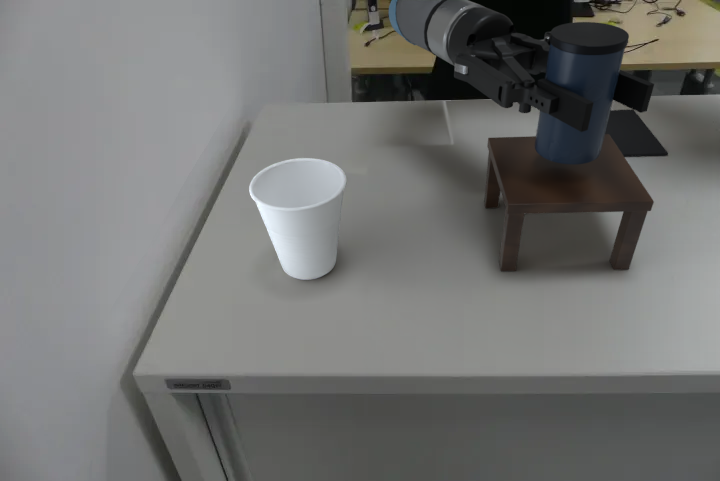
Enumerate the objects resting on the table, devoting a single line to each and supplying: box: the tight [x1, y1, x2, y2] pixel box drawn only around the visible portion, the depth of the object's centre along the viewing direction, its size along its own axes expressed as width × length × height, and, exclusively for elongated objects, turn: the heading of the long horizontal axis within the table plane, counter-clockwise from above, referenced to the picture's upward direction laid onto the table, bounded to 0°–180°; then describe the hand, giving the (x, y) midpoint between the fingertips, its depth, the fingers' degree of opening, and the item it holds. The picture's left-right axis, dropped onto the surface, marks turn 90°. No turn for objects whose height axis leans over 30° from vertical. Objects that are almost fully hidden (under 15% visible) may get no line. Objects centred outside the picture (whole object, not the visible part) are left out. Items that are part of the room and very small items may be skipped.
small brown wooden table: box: [483, 134, 655, 272], centre depth 63 cm, size 14×14×9 cm
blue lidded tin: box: [535, 21, 630, 164], centre depth 55 cm, size 7×7×12 cm
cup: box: [248, 157, 348, 281], centre depth 60 cm, size 10×10×11 cm
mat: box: [605, 109, 669, 158], centre depth 84 cm, size 14×14×1 cm
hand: (617, 107), depth 51 cm, fingers closed on blue lidded tin, 7 cm apart
